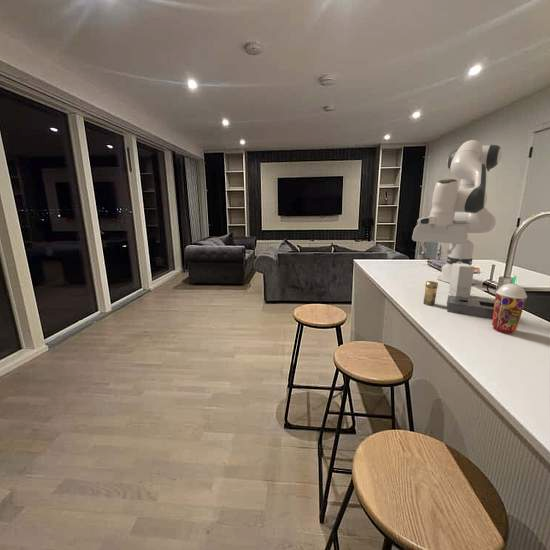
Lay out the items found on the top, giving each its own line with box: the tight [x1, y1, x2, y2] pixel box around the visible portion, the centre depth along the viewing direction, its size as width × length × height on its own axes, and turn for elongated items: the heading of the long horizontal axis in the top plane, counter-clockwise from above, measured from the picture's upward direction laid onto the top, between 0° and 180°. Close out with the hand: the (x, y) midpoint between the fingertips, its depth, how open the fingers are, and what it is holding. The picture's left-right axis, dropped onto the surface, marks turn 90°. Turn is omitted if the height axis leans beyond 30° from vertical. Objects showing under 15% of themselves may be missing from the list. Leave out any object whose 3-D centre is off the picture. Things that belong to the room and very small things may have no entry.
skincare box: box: [448, 263, 475, 298], centre depth 135 cm, size 8×7×16 cm
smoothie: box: [491, 275, 528, 335], centre depth 98 cm, size 8×8×20 cm
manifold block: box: [446, 294, 495, 320], centre depth 116 cm, size 11×20×4 cm, turn 60°
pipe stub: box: [423, 280, 439, 307], centre depth 125 cm, size 5×5×10 cm
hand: (436, 253), depth 120 cm, fingers open, 8 cm apart
